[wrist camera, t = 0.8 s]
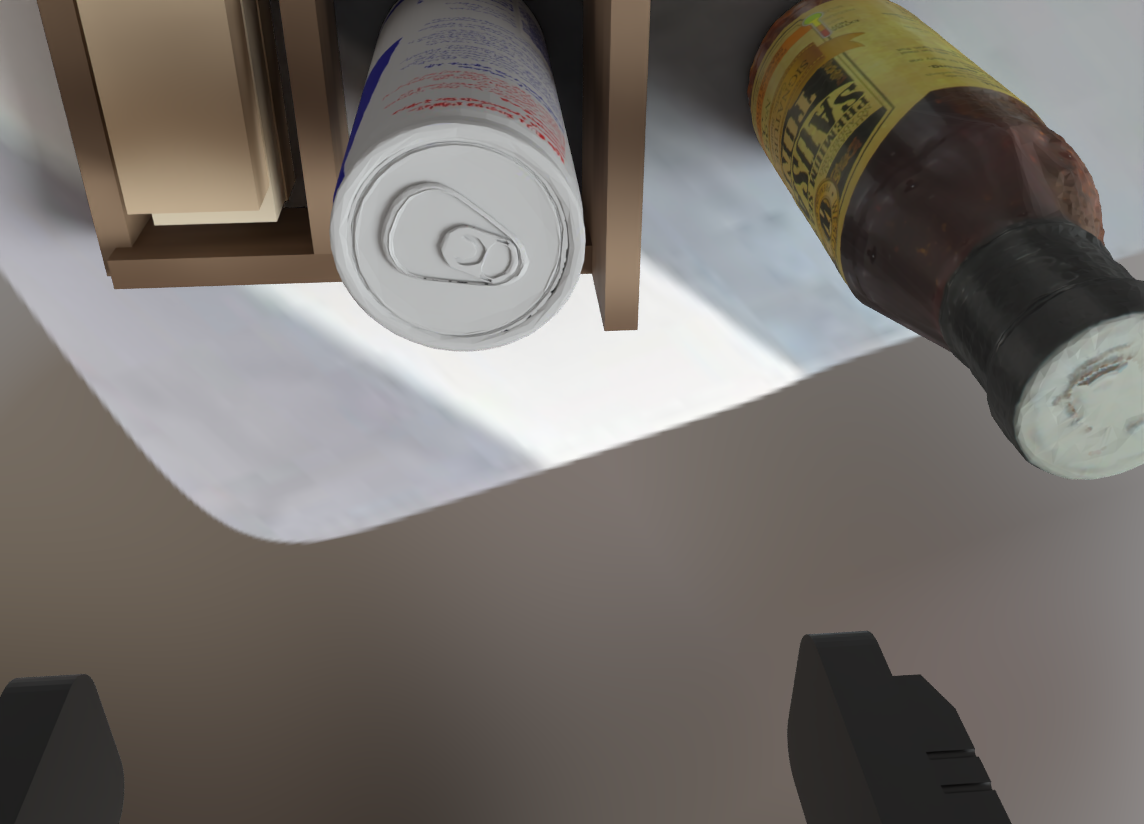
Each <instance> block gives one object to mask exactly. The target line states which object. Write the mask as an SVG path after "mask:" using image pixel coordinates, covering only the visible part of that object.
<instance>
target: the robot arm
mask: <svg viewBox="0 0 1144 824" xmlns="http://www.w3.org/2000/svg"><path fill="white" fill-rule="evenodd" d="M787 733H788V734H787V737H788V752H789V760H790V766H791V771H792V775H793V778H794V782H795V786H796V789H797V792H798V796H799V799H800V802H801V805H802V809H803V812H804V815H805V819H806V822H807V824H1011V822H1010V819H1009V818H1008V816H1007V813H1006V811H1005V809H1004V807H1003V805H1002V803H1001V801H1000V799H999V797H998V795H997V793H996V791H995V790H992V788H991V781H990V779H989V777H988V775H987V772H986V770H985V768H984V766H983V764H982V762H981V760H980V758H979V757H976V755H975V748H974V746H973V744H972V742H971V740H970V738H969V736H968V734H967V732H966V730H965V727H964V726H963V723H962V721H961V720H960V717H959V715H958V713H957V711H956V709H955V708H954V707H953V706H952V705H951V704H950V703H949V702H948V701H947V700H946V699H945V698H944V697H943V696H942V695H941V694H940V693H939V692H938V691H937V690H936V689H934V687H933V686H932V685H931V684H930V683H929V682H927V681H926V680H925V679H924V678H923V677H922V676H921V675H903V676H892V674H891V672H890V669H889V667H888V665H887V663H886V660H885V658H884V656H883V653H882V651H881V649H880V647H879V644H878V642H877V640H876V639H875V637H874V636H873V634H872V633H870V632H869V631H858V632H842V633H823V634H806V635H804V636H803V638H802V640H801V643H800V648H799V655H798V661H797V668H796V674H795V680H794V687H793V693H792V699H791V706H790V712H789V719H788V729H787ZM123 800H124V773H123V767H122V763H121V759H120V756H119V753H118V750H117V747H116V745H115V742H114V739H113V736H112V733H111V730H110V727H109V724H108V722H107V718H106V716H105V713H104V710H103V707H102V704H101V701H100V698H99V695H98V692H97V689H96V686H95V684H94V682H93V680H92V679H91V677H90V676H88V675H86V674H78V675H61V676H44V677H26V678H15V679H13V680H12V681H11V682H9V684H8V685H7V686H6V687H5V689H4V691H3V693H2V695H1V697H0V824H119V821H120V818H121V813H122V807H123Z"/></svg>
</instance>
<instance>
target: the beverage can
mask: <svg viewBox="0 0 1144 824" xmlns="http://www.w3.org/2000/svg"><path fill="white" fill-rule="evenodd" d="M329 234H330V244H331V250H332V254H333V257H334V261H335V265H336V268H337V271H338V273H339V275H340V277H341V280H342V282H343V284H344V285H345V287H346V288H347V290H348V291H349V293H350V294H351V296H352V297H353V298H354V300H355V301H356V302H357V304H358V305H359V306H360V307H361V308H362V309H363V310H364V311H365V312H366V313H367V314H368V315H369V316H370V317H371V318H373V319H374V320H375V321H377V322H378V323H379V324H381V325H382V326H383V327H385V328H386V329H388V330H390V331H391V332H393V333H394V334H396V335H398V336H401V337H403V338H405V339H407V340H410V341H412V342H415V343H418V344H421V345H424V346H427V347H431V348H434V349H442V350H449V351H479V350H487V349H492V348H496V347H500V346H504V345H507V344H510V343H513V342H515V341H517V340H519V339H522V338H524V337H526V336H528V335H530V334H532V333H533V332H535V331H536V330H538V329H539V328H541V327H542V326H543V325H544V324H545V323H546V322H548V321H549V320H550V319H551V318H552V317H553V316H555V315H556V314H557V313H558V312H559V310H560V309H561V308H562V307H563V305H564V304H565V303H566V302H567V300H568V299H569V297H570V295H571V293H572V292H573V290H574V288H575V286H576V284H577V282H578V280H579V277H580V273H581V269H582V266H583V262H584V255H585V242H586V239H585V227H584V222H583V207H582V201H581V196H580V191H579V186H578V182H577V178H576V173H575V169H574V165H573V160H572V156H571V152H570V147H569V143H568V139H567V134H566V130H565V126H564V121H563V117H562V113H561V108H560V104H559V100H558V95H557V91H556V87H555V82H554V78H553V74H552V69H551V65H550V61H549V56H548V52H547V48H546V43H545V39H544V36H543V33H542V30H541V28H540V26H539V24H538V22H537V20H536V18H535V17H534V15H533V13H532V12H531V11H530V9H529V8H528V7H527V6H526V4H525V3H524V2H523V1H522V0H397V1H396V3H395V4H394V5H393V7H392V8H391V9H390V11H389V12H388V14H387V16H386V18H385V19H384V21H383V23H382V26H381V29H380V32H379V35H378V39H377V44H376V47H375V51H374V54H373V58H372V61H371V65H370V68H369V72H368V75H367V79H366V82H365V86H364V89H363V93H362V96H361V100H360V103H359V107H358V110H357V114H356V117H355V121H354V124H353V128H352V131H351V135H350V138H349V142H348V145H347V149H346V152H345V156H344V159H343V163H342V166H341V170H340V173H339V177H338V180H337V184H336V188H335V192H334V196H333V206H332V211H331V217H330V232H329Z"/></svg>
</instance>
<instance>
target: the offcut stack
mask: <svg viewBox="0 0 1144 824" xmlns="http://www.w3.org/2000/svg"><path fill="white" fill-rule="evenodd" d="M76 1H77V5H78V9H79V13H80V17H81V22H82V26H83V30H84V34H85V38H86V43H87V47H88V51H89V55H90V59H91V64H92V68H93V72H94V76H95V80H96V85H97V89H98V93H99V97H100V101H101V105H102V110H103V114H104V118H105V122H106V126H107V131H108V135H109V139H110V143H111V147H112V152H113V156H114V160H115V164H116V168H117V173H118V177H119V181H120V185H121V189H122V194H123V198H124V202H125V206H126V210H127V214H152V217H153V221H154V225H184V224H217V223H250V222H277V220H278V218H279V215H280V212H281V210H282V207H283V204H284V202H285V201H288V199H289V196H290V194H291V191H292V188H293V185H294V183H295V174H294V167H293V160H292V153H291V146H290V139H289V132H288V125H287V118H286V112H285V105H284V98H283V91H282V84H281V77H280V70H279V63H278V56H277V49H276V43H275V36H274V29H273V22H272V15H271V8H270V1H269V0H76Z"/></svg>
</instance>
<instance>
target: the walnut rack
mask: <svg viewBox="0 0 1144 824" xmlns="http://www.w3.org/2000/svg"><path fill="white" fill-rule="evenodd" d="M650 1H651V0H583V104H582V200H581V201H582V207H583V222H584V227H585V239H586V242H585V255H584V262H583V266H582V269H581V273H580V274H592V276H593V280H594V285H595V290H596V294H597V299H598V303H599V308H600V312H601V317H602V322H603V326H604V331H618V330H637V328H638V303H639V278H640V253H641V228H642V202H643V177H644V152H645V127H646V102H647V77H648V51H649V26H650ZM37 4H38V7H39V11H40V15H41V19H42V23H43V27H44V31H45V35H46V39H47V43H48V46H49V50H50V54H51V58H52V62H53V66H54V70H55V74H56V78H57V82H58V86H59V89H60V93H61V97H62V101H63V105H64V109H65V113H66V117H67V121H68V125H69V129H70V132H71V136H72V140H73V144H74V148H75V152H76V156H77V160H78V164H79V168H80V171H81V175H82V179H83V183H84V187H85V191H86V195H87V199H88V203H89V207H90V211H91V214H92V218H93V222H94V226H95V230H96V234H97V238H98V242H99V246H100V250H101V254H102V257H103V261H104V265H105V269H106V273H107V276H111V278H112V282H113V285H114V289H133V288H164V287H194V286H225V285H255V284H286V283H317V282H342V280H341V277H340V275H339V273H338V271H337V268H336V265H335V261H334V257H333V254H332V250H331V244H330V234H329V232H330V217H331V211H332V206H333V196H334V192H335V188H336V184H337V180H338V177H339V173H340V170H341V166H342V163H343V159H344V156H345V152H346V149H347V145H348V142H349V135H348V126H347V117H346V108H345V99H344V90H343V82H342V73H341V64H340V55H339V46H338V37H337V28H336V20H335V11H334V2H333V0H279V5H280V12H281V19H282V27H283V34H284V41H285V48H286V55H287V62H288V70H289V77H290V84H291V91H292V98H293V106H294V113H295V120H296V127H297V134H298V141H299V149H300V156H301V163H302V170H303V177H304V184H305V192H306V199H307V206H308V207H307V208H282V210H281V212H280V215H279V218H278V220H277V222H250V223H217V224H184V225H154V221H153V217H152V214H127V210H126V206H125V202H124V198H123V194H122V189H121V185H120V181H119V177H118V173H117V168H116V164H115V160H114V156H113V152H112V147H111V143H110V139H109V135H108V131H107V126H106V122H105V118H104V114H103V110H102V105H101V101H100V97H99V93H98V89H97V85H96V80H95V76H94V72H93V68H92V64H91V59H90V55H89V51H88V47H87V43H86V38H85V34H84V30H83V26H82V22H81V17H80V13H79V9H78V5H77V1H76V0H37Z"/></svg>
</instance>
